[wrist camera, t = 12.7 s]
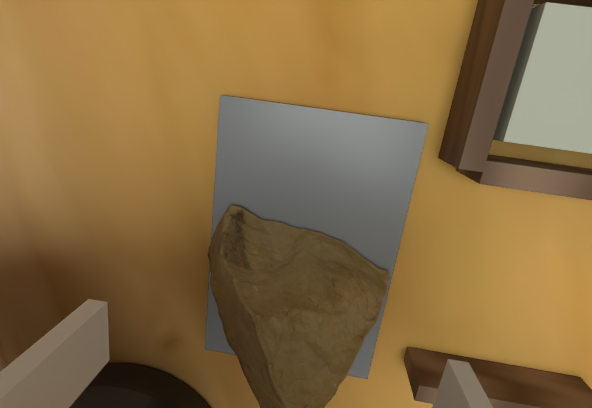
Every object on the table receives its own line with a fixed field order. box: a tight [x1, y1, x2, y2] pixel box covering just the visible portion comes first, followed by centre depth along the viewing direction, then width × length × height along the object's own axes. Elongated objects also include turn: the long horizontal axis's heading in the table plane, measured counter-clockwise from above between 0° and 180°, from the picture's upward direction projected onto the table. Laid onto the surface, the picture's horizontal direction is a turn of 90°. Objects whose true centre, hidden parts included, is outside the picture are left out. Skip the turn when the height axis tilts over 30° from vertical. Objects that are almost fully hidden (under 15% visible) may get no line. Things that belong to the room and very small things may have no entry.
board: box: [205, 95, 428, 379], centre depth 23 cm, size 12×18×1 cm, turn 173°
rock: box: [208, 205, 390, 408], centre depth 19 cm, size 11×9×10 cm
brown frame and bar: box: [404, 0, 592, 408], centre depth 19 cm, size 14×25×4 cm, turn 173°
